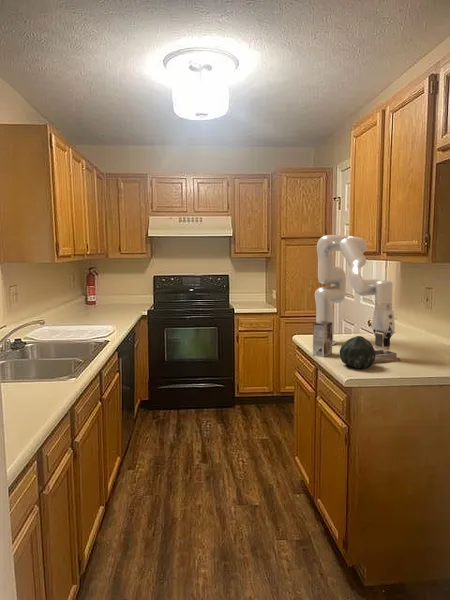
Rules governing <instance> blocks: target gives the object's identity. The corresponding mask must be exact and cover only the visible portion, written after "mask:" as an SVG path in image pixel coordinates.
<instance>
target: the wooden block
mask: <svg viewBox="0 0 450 600" xmlns="http://www.w3.org/2000/svg"><path fill="white" fill-rule="evenodd" d="M387 334H388V333H387ZM374 337H375V338H374V339H375V340H374V341H375V342H374V344H375V347H374V348H375V350H388V351H390V347H391V345H390V346H388V347H384V338H385V336H384V332H383V331H378V332H376V336H375V335H374Z"/></svg>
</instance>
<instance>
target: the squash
mask: <svg viewBox="0 0 450 600" xmlns="http://www.w3.org/2000/svg"><path fill="white" fill-rule="evenodd" d="M374 348H375V347H374V346H373V345H372V343H371V342H370V341H369V340H368V339H366V338H365V337H364V336H361V335H357V336H354V337H351V338H349V339H347V340H346V341H345V342H344V343H343V344H341V346H340V349H339V358H340V360H341V362H342V364H344V365H346V366H350V367H352V368H355V369H362V370H363V369H366V368H370V367H371V366H372V365H374V364H373V362H374V361H375V351H374Z"/></svg>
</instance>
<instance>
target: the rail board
mask: <svg viewBox="0 0 450 600" xmlns="http://www.w3.org/2000/svg"><path fill="white" fill-rule="evenodd" d="M373 348H374V351H375V361H374V362H373V364H372V365H376V364H386V363H392V362H393V363H394V362H400V361H401V358H400V357H397V355H398V353H397V352H395V351H391V350H380V349H376V348H375V347H373Z"/></svg>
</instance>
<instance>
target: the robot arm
mask: <svg viewBox="0 0 450 600" xmlns="http://www.w3.org/2000/svg"><path fill="white" fill-rule="evenodd" d="M367 245H368V244H367V241H366V240H365V239H364V238H362V237H360V236H359V237H358V236H352V235H346V234H345V235H344V234H329V235H328V234H326V235H323V236H321V237H320V238H319V239H318V241H317V243H316V252H317V253H316V255H317V280H318V283H320V284H321V285H331V286H320V287H317V289H316V290H315V292H314V300H315V309H316V310H315V312H316V313H315V317H316V318H315V320H316V321H315V323H316V322H319V321H327V322H332V346H334V345H336V344H337V341H336V340H334V326H335V325H334V322H335V316H334V315H335V312H334V311H335V310H334V307H332V304H339V303H342V302H343V301H344V300H345V297H346V288H347V287H346V285H347V284H346V282H347V281H346V279H347V277H346V275H347V274H346V273H345V272H346V271H345V270H344V269H343V268H342V267H340V266H335V258H334V256H333V253H332V252H341V253H342V255H343V257H344V259H345V260H346V263H347V265H348V266H349V271H348V279H349V283H350V285H351V286H352V289H353V290H354V292H355V293H356V294H357V295H358V296H361V297H363V296H374V310H373V311H374V312H373V317H372V326H371V327H370V329H371V330H372V331H373V334H374V337H375V336H376V332H378V331H383V332H384V336H385V338H384V347H388V346H390V347H391V338H392V336H394V334H395V333H396V331H395V329H396V328H395V326H396V325H395V313H394V310H393V288H394V285H393V282H392V280H380V279H363V276H362V275H361V272H360V269H362V268H363V267H364V266H365V265H366V263H367V258H366V257H365V255H364V253H365V252H366V251H367V247H368V246H367ZM387 333H388V334H387Z"/></svg>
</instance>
